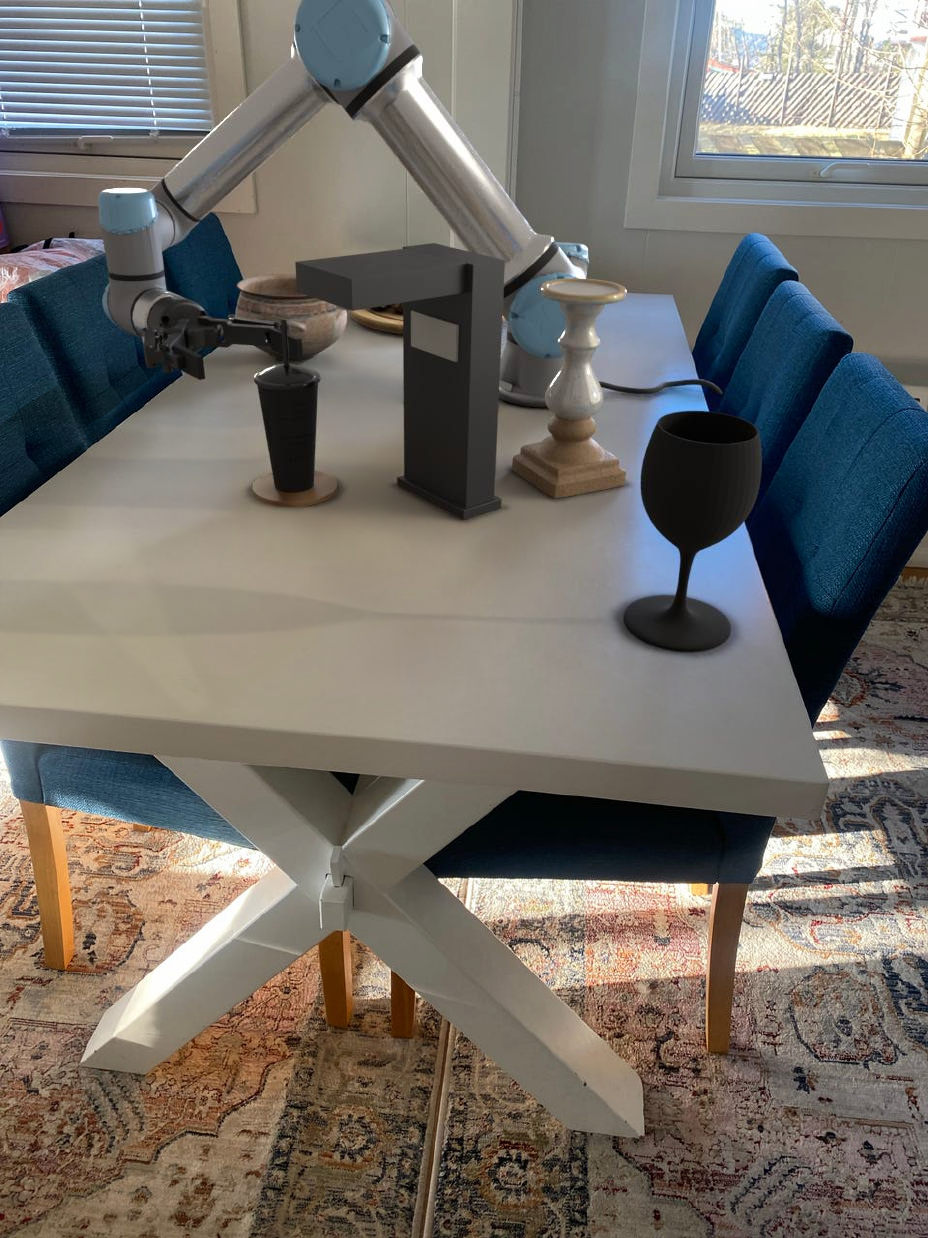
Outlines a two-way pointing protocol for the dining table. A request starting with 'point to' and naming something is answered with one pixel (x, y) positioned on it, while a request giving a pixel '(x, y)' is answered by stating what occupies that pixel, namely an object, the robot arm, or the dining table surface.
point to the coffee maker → (434, 360)
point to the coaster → (318, 493)
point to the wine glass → (694, 516)
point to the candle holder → (574, 399)
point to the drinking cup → (290, 420)
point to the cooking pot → (291, 312)
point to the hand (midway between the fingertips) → (252, 358)
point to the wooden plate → (383, 318)
